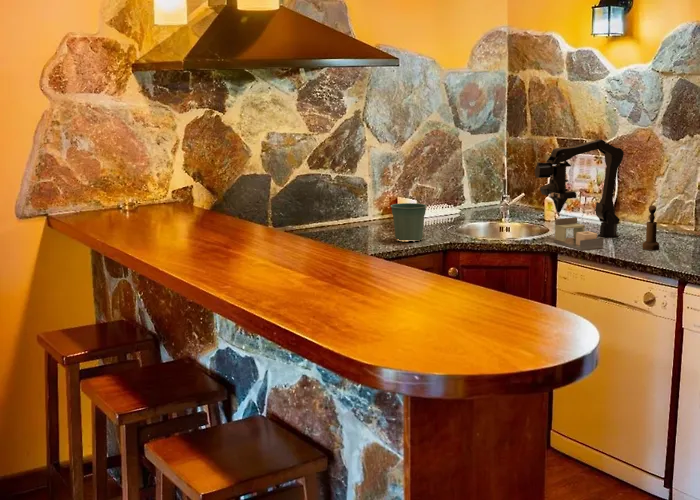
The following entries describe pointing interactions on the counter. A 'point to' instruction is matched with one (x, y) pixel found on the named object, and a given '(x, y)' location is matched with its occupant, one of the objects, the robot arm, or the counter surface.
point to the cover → (567, 224)
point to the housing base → (582, 243)
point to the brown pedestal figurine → (651, 232)
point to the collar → (585, 236)
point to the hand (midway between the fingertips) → (558, 212)
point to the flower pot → (408, 220)
